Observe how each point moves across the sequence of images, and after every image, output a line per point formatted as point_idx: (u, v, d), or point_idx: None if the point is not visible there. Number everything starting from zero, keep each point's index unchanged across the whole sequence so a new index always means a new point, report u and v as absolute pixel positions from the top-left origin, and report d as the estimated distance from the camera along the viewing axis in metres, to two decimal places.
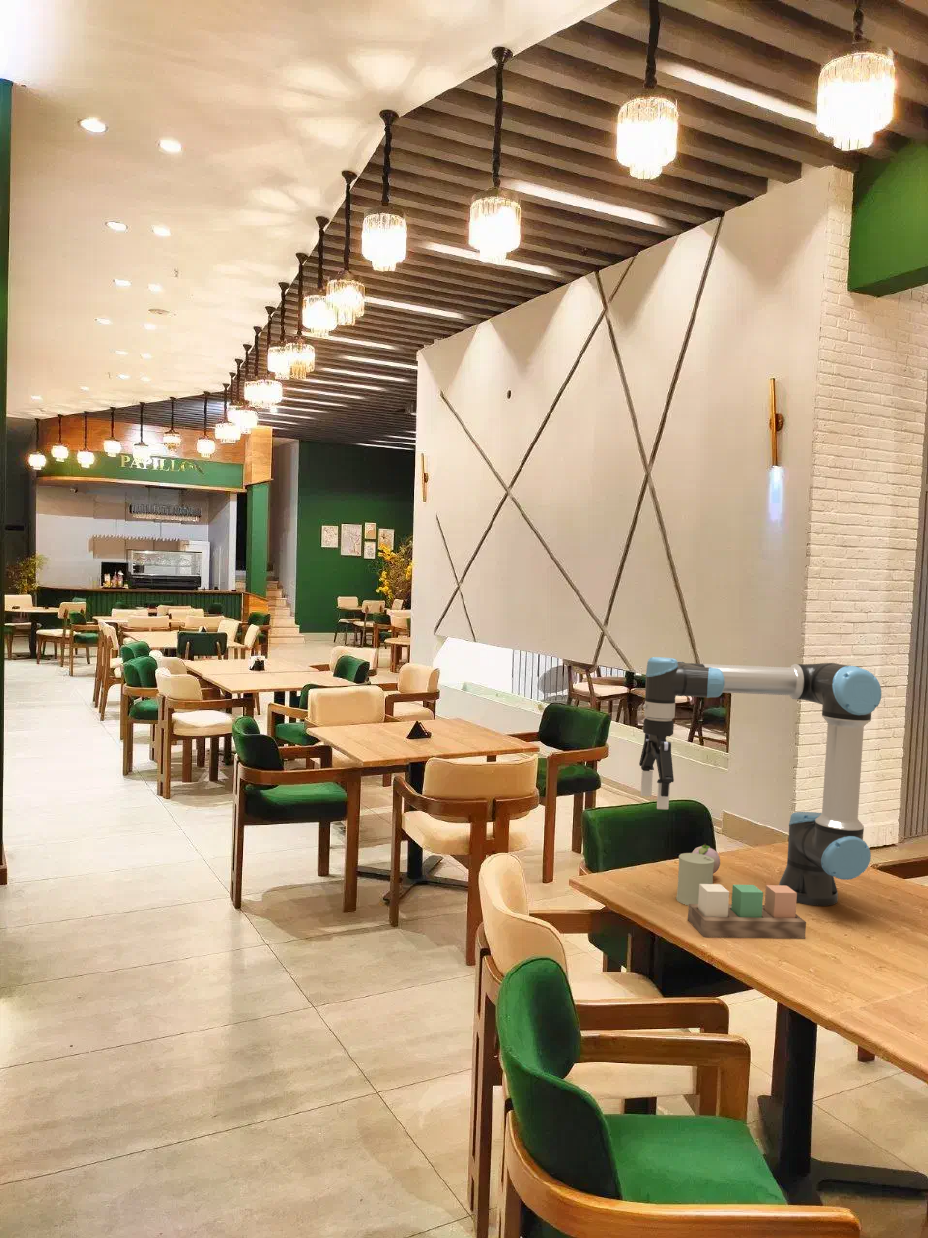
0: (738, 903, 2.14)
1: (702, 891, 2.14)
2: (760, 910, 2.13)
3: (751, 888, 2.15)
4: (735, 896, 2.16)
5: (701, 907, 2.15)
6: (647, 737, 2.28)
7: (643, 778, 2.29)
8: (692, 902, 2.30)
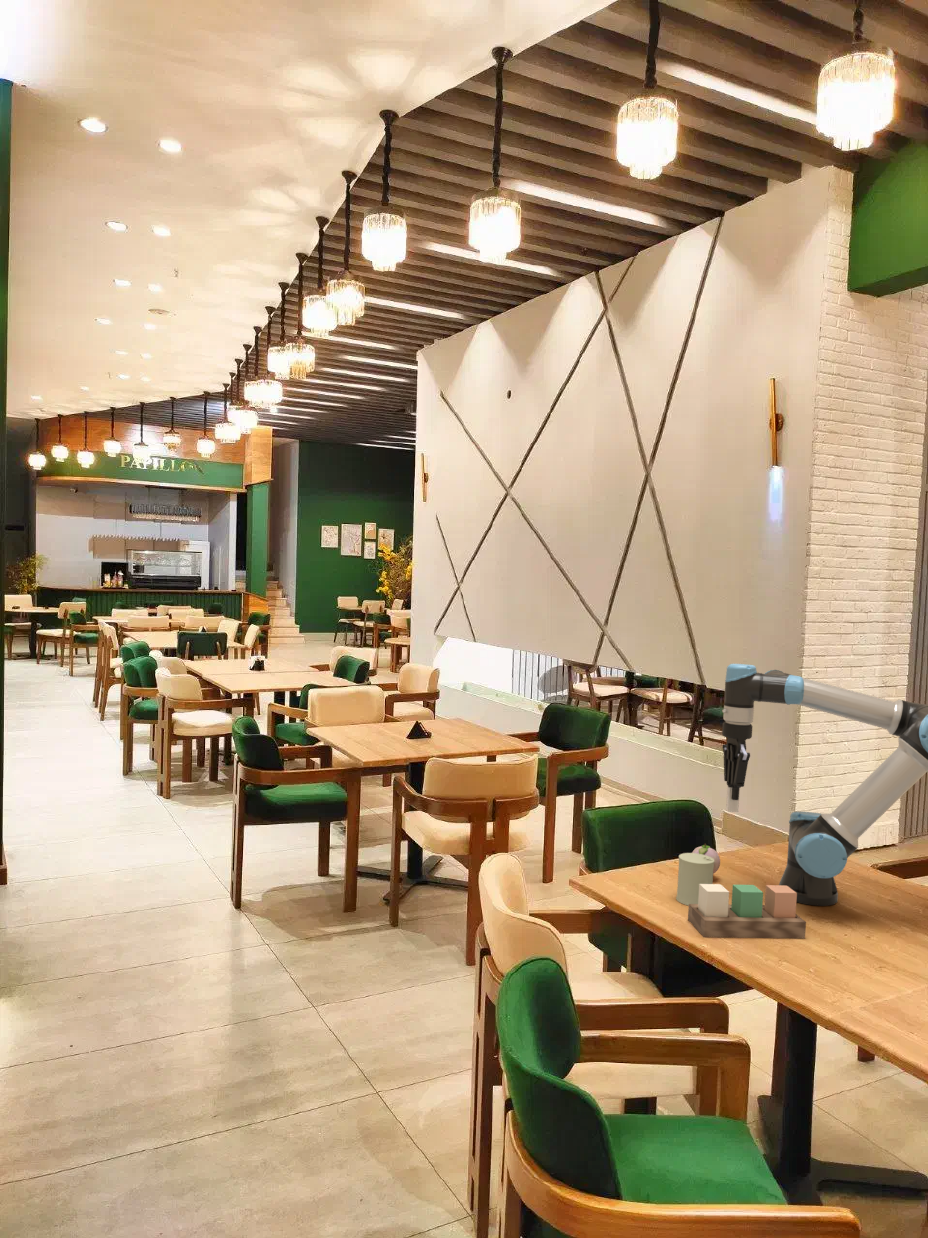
0: (738, 903, 2.14)
1: (702, 891, 2.14)
2: (760, 910, 2.13)
3: (751, 888, 2.15)
4: (735, 896, 2.16)
5: (701, 907, 2.15)
6: (725, 746, 2.38)
7: None
8: (692, 902, 2.30)
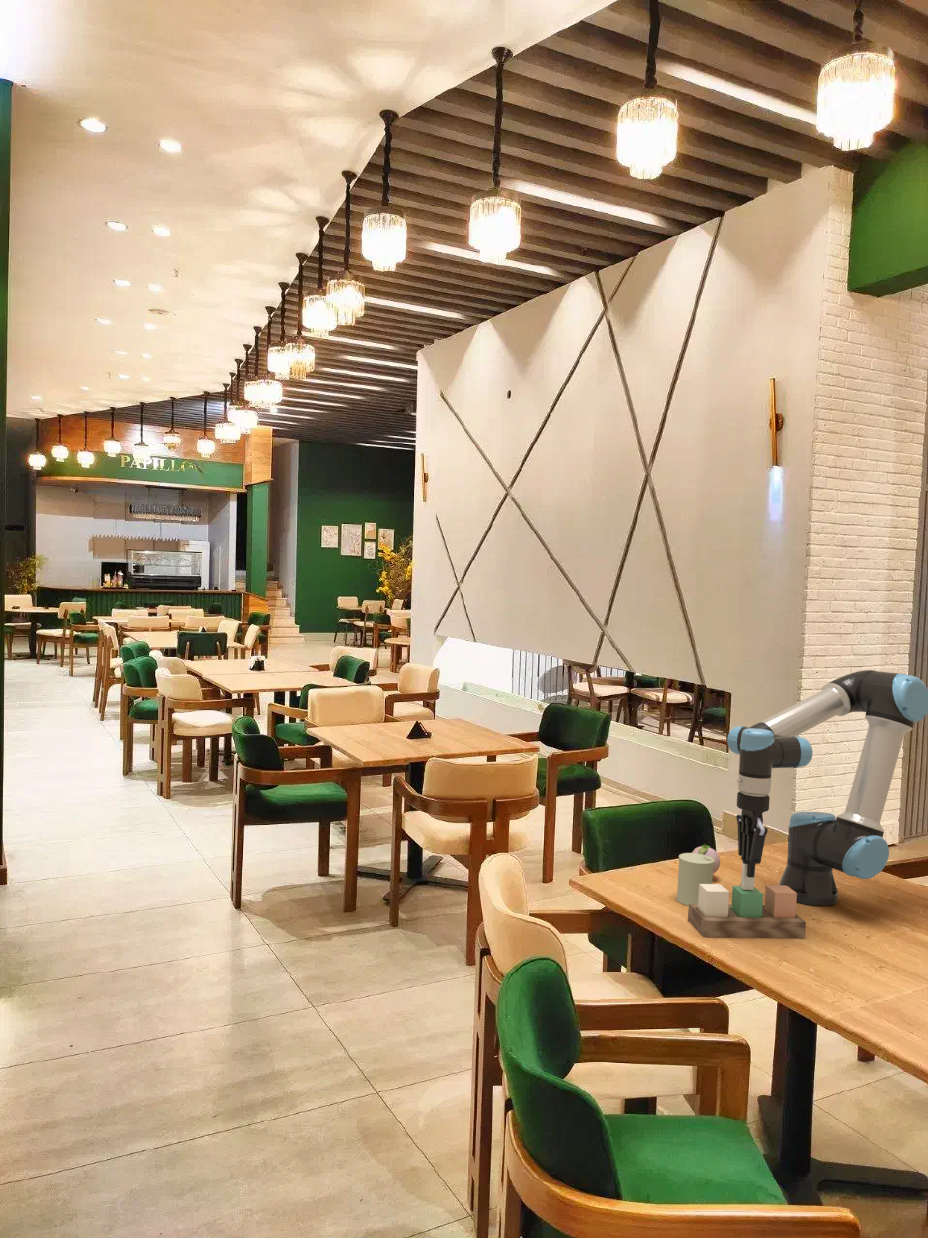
0: (737, 904, 2.14)
1: (702, 891, 2.14)
2: (760, 911, 2.13)
3: (751, 890, 2.15)
4: (735, 897, 2.16)
5: (701, 907, 2.15)
6: (739, 817, 2.20)
7: None
8: (692, 902, 2.30)
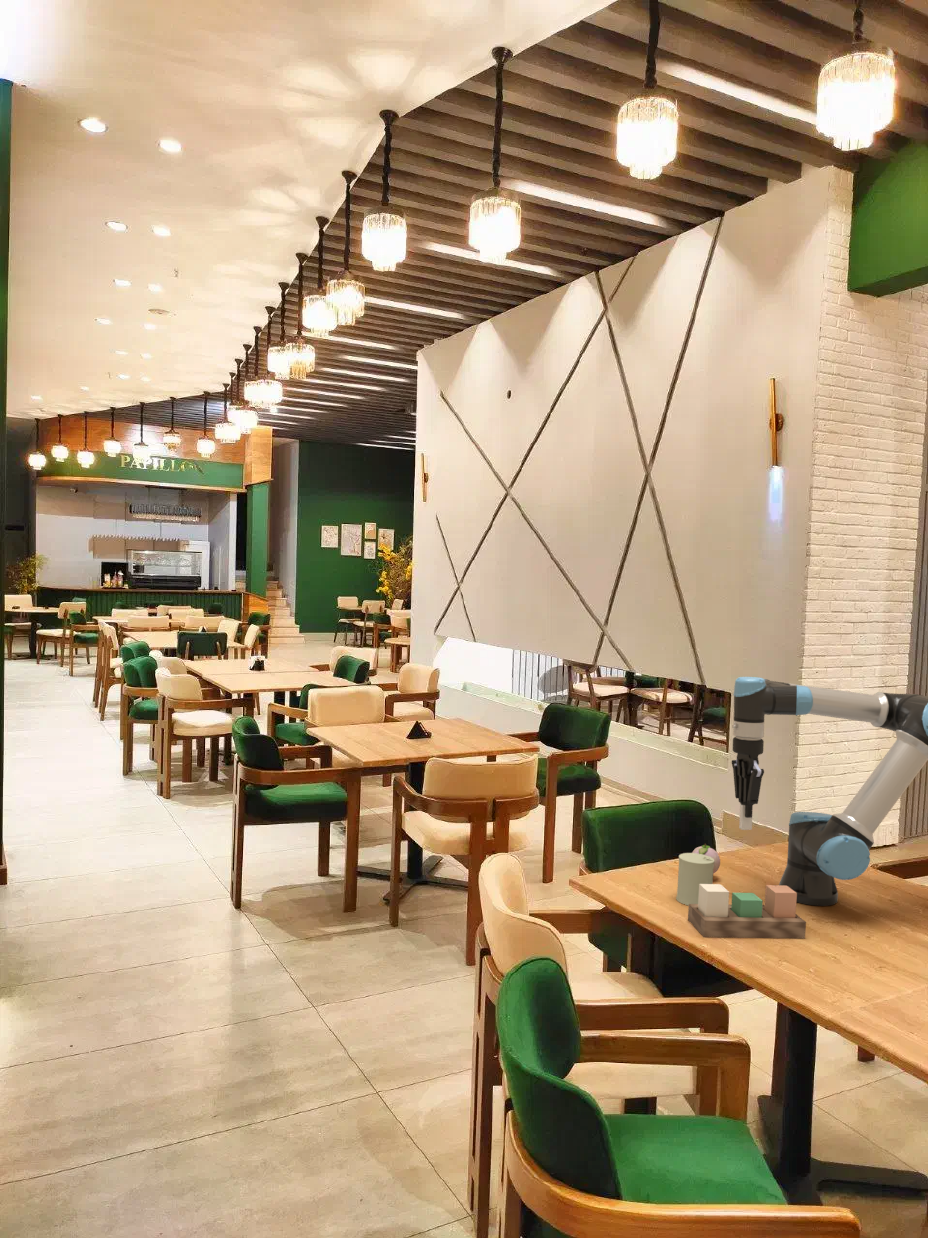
0: (737, 911, 2.14)
1: (702, 891, 2.14)
2: None
3: (751, 896, 2.15)
4: (735, 904, 2.16)
5: (701, 907, 2.15)
6: (735, 762, 2.31)
7: None
8: (692, 902, 2.30)
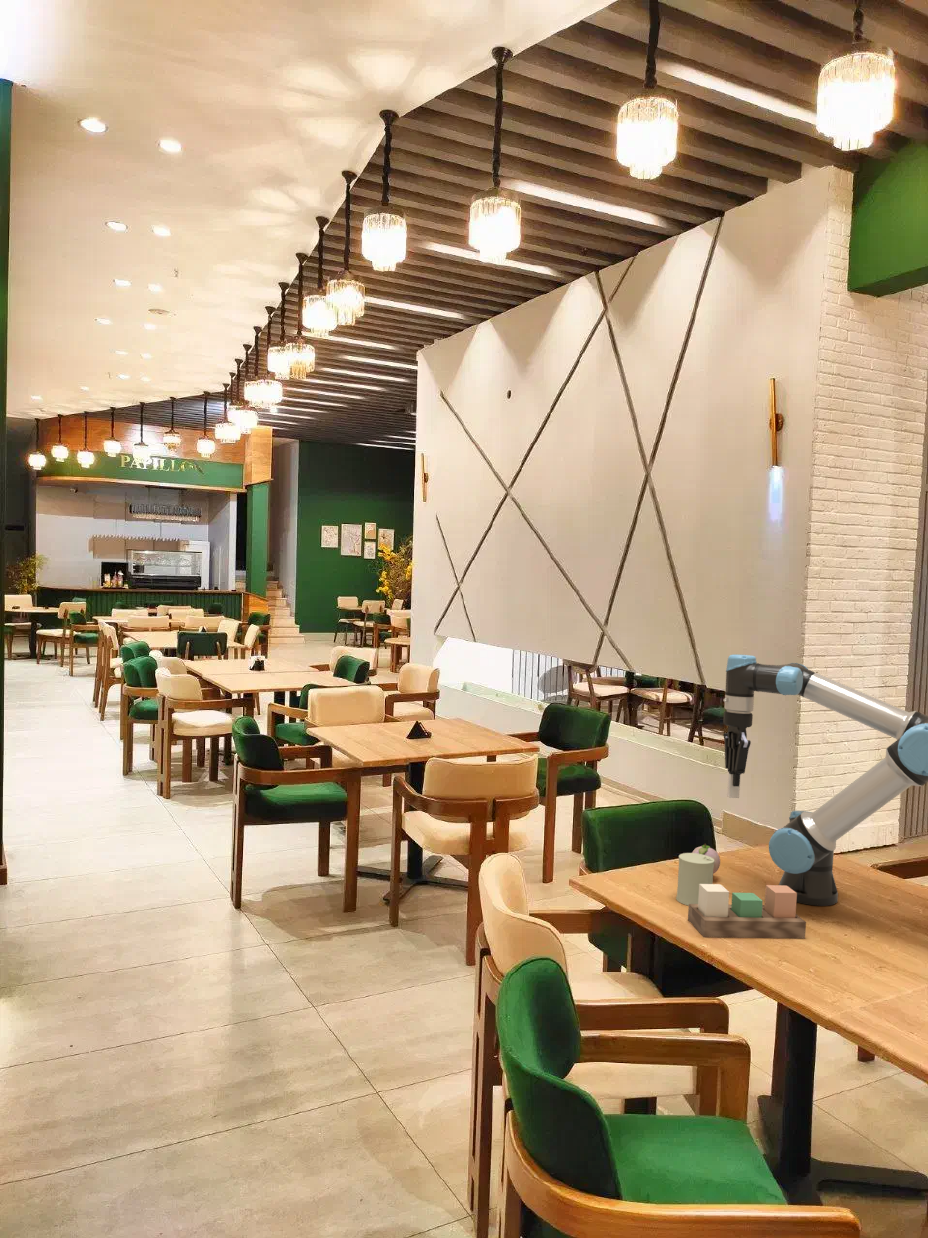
0: (737, 911, 2.14)
1: (702, 891, 2.14)
2: None
3: (751, 896, 2.15)
4: (735, 904, 2.16)
5: (701, 907, 2.15)
6: (726, 735, 2.46)
7: None
8: (692, 902, 2.30)
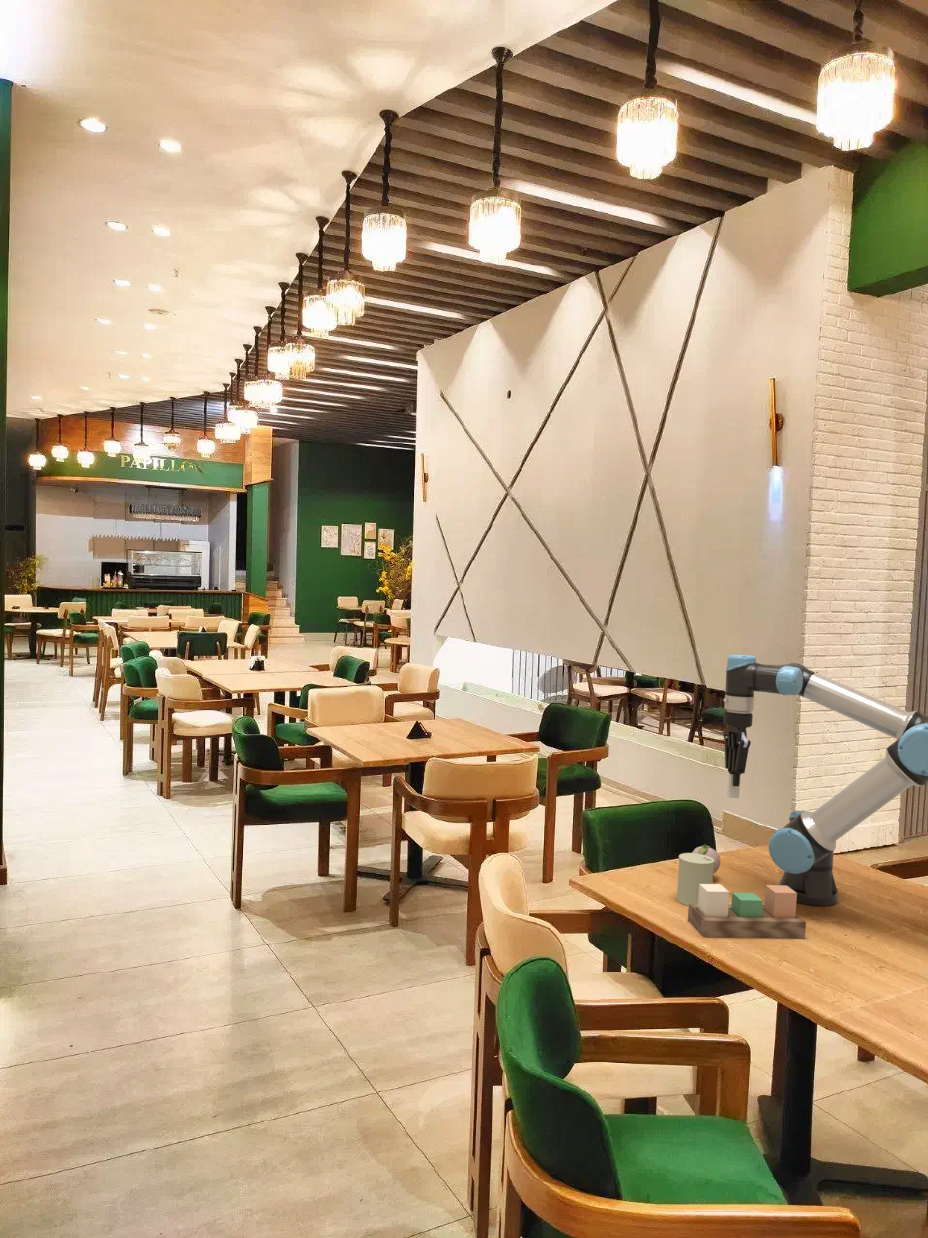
0: (737, 911, 2.14)
1: (702, 891, 2.14)
2: None
3: (751, 896, 2.15)
4: (735, 904, 2.16)
5: (701, 907, 2.15)
6: (726, 735, 2.46)
7: None
8: (692, 902, 2.30)
